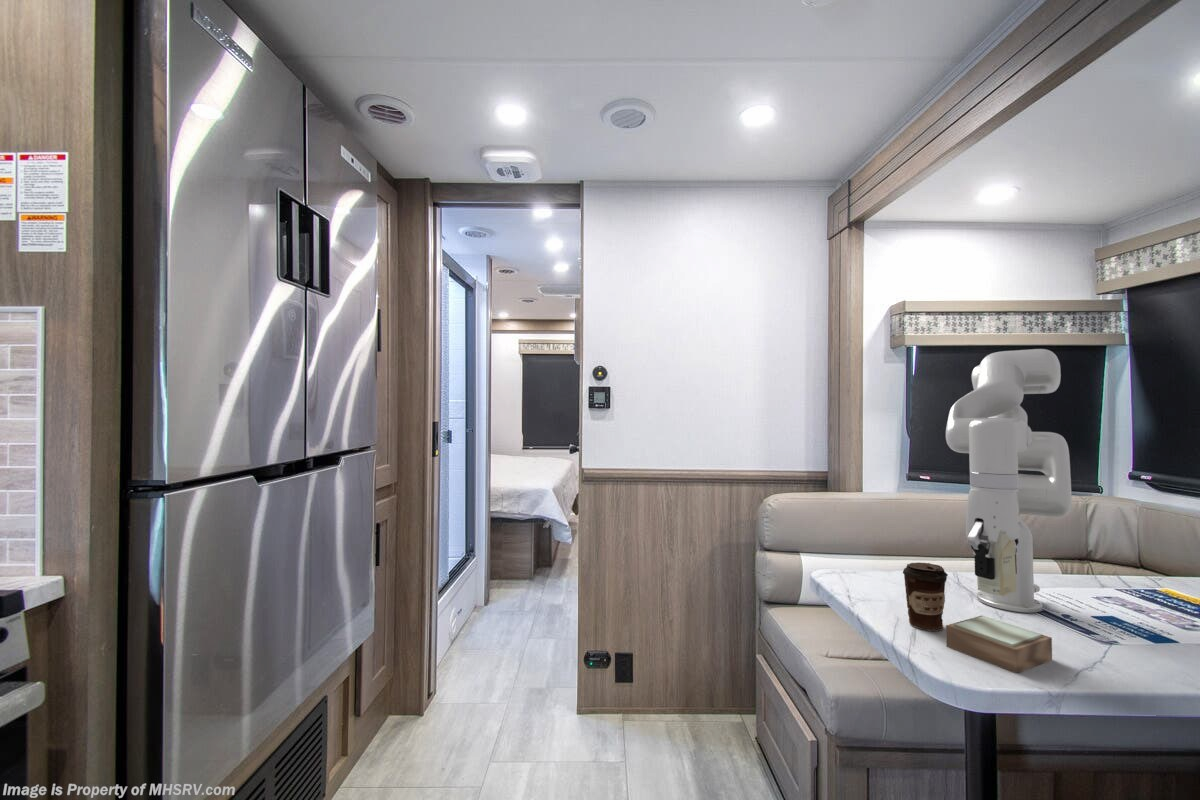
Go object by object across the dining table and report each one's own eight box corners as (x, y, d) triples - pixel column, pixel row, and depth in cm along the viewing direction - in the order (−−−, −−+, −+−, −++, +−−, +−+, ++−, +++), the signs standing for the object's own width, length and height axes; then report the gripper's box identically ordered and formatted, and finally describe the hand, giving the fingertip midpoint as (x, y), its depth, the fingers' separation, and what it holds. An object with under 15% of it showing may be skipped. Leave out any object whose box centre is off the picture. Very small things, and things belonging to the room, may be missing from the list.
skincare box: (1003, 597, 97) (1001, 531, 97) (976, 590, 100) (974, 527, 101) (1017, 591, 100) (1015, 527, 100) (990, 585, 104) (988, 523, 104)
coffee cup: (957, 636, 107) (955, 572, 108) (913, 632, 109) (911, 570, 110) (938, 620, 116) (937, 561, 116) (898, 617, 118) (897, 559, 118)
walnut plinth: (982, 635, 108) (981, 613, 108) (1052, 659, 97) (1051, 635, 97) (946, 646, 103) (945, 623, 103) (1016, 673, 92) (1015, 647, 92)
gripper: (997, 478, 108) (999, 565, 107) (946, 482, 101) (948, 575, 100) (1040, 482, 101) (1043, 575, 101) (989, 486, 94) (991, 586, 93)
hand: (995, 574), depth 100 cm, fingers closed on skincare box, 6 cm apart
